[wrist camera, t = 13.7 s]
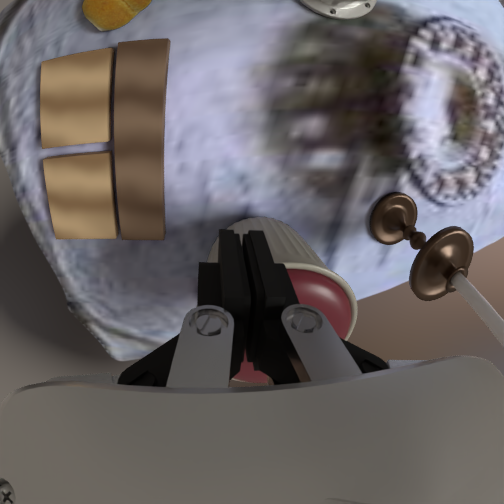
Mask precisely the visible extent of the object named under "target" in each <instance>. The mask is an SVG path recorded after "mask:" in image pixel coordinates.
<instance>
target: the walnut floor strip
mask: <svg viewBox="0 0 504 504" xmlns="http://www.w3.org/2000/svg"><path fill="white" fill-rule="evenodd" d="M169 50H170V40H169V39H168V38H167V39H149V40H137V41H128V42H119V43H118V48H117V59H116V73H115V93H114V152H115V173H116V188H117V200H118V210H119V220H120V228H121V236H122V240H164V238H165V234H166V230H165V203H164V129H165V104H166V86H167V72H168V60H169Z"/></svg>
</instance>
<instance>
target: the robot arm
mask: <svg viewBox="0 0 504 504" xmlns="http://www.w3.org/2000/svg"><path fill="white" fill-rule="evenodd" d="M299 1H300V2H301V3H303V4H304V5H305V6H306V7H308V8H309V9H311V10H313V11H314V12H316V13H318V14H320V15H323V16H326V17H329V18H333V19H339V20H349V19H354V18H358V17H361V16H363V15H365V14H367V13H368V12H369V11H371V10H372V9H373V7H374V5H375V4H376V1H377V0H299ZM499 2H500V3H501V4H502V6H503V7H504V0H499ZM330 11H331V12H332V14H331V13H330ZM245 350H246V357H247V362H253V368H254V371H261V372H263V373H264V374H266V375H267V382H268V385H269V386H253V387H232V388H230V387H229V382H230V380H231V379H232V378H233V377H234V376H235V375H236V374H238V373H239V372H240V369H241V363H243V361H244V354H245ZM0 504H504V376H503V375H502V374H501V372H500V371H499V370H498V369H497V368H496V366H495V365H494V364H492V363H491V362H490V361H488V360H485V359H483V358H479V357H472V356H450V357H443V358H438V359H433V360H424V361H423V360H421V361H420V360H416V361H415V360H414V361H413V360H388V361H387V363H385V362H384V361H383V360H382V359H380V358H379V357H377V356H375V355H373V354H371V353H369V352H367V351H365V350H363V349H361V348H359V347H357V346H355V345H353V344H351V343H350V342H348V341H346V340H344V339H342V338H340V337H339V336H338V335H337V333H336V332H335V330H334V328H333V327H332V325H331V324H330V322H329V321H328V319H327V318H326V316H325V315H324V314H323V313H322V312H321V311H320V310H318V309H317V308H315V307H313V306H310V305H306V304H300V303H299V300H298V298H297V295H296V292H295V290H294V287H293V285H292V282H291V279H290V277H289V274H288V272H287V269H286V266H285V265H284V264H283V263H274V260H273V257H272V254H271V251H270V248H269V245H268V242H267V240H266V237H265V234H264V231H263V230H249V231H248V234H243V238H242V245H241V240H240V235H239V233H234V230H227V229H219V245H218V263H216V262H199V274H198V305H197V307H196V308H194V309H191V310H190V311H189V312H188V313H187V314H186V316H185V318H184V321H183V324H182V328H181V332H180V334H178V335H177V336H175V337H174V338H172V339H171V340H169V341H168V342H166V343H165V344H163V345H162V346H160V347H159V348H157V349H156V350H154V351H153V352H151V353H150V354H148V355H147V356H145V357H144V358H142V359H141V360H139V361H138V362H136V363H134V364H133V365H131V366H130V367H128V368H127V369H126V370H125V371H124V372H122V373H121V375H116V376H113V375H112V373H101V374H90V375H77V376H61V377H54V378H51V379H49V380H48V381H46V382H42V383H36V384H31V385H27V386H24V387H21V388H19V389H16V390H14V391H13V392H11V393H10V394H9V395H8V396H7V397H6V398H5V399H4V400H3V402H2V403H1V404H0Z"/></svg>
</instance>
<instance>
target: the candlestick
mask: <svg viewBox="0 0 504 504" xmlns="http://www.w3.org/2000/svg"><path fill="white" fill-rule="evenodd" d="M416 220H417V207H416V204H415V202H414V200H413V199H412V198H411V197H409V196H408V195H406V194H404V193H401V192H394V193H391V194H388V195H386V196H385V197H383V198H382V199H381V200H380V201H379V202H378V203H377V204H376V206H375V207H374V209H373V211H372V214H371V217H370V230H371V233H372V235H373V236H374V237H375V238H376V239H377V241H379V242H380V243H382V244H385V245H393V244H396V243H398V242H400V241H402V240H403V239H405V240H410V245H411V247H412V248H413V249H415V250H418V249H420V251H419V252H418V254H417V256H416V257H415V260H414V262H413V264H412V267H411V270H410V276H409V284H410V287H411V289H412V291H413V292H414V294H415V295H416V296H417V297H418V298H419V299H421V300H424V301H431V300H435V299H438V298H440V297H442V296H444V295H446V294H447V293H448V292H454V291H456V290H457V291H458V292H459V293H460V294H461V295H462V297H463V298H464V299H465V300H466V301H467V302H468V303H469V305H470V306H471V307H472V308H473V309H474V311H475V312H476V313H477V314H478V315H479V317H480V318H481V319H482V320H483V321H484V323H485V324H486V325H487V326H488V328H489V329H490V330H491V332H492V333H493V334H494V335H495V337H496V338H497V339H498V341H499V342H500V343H501V345H502V346H503V347H504V320H503V319H502V318H501V317H500V315H499V314H498V313H497V312H496V311H495V310H494V308H493V307H492V306H491V305H490V304H489V303H488V302H487V300H486V299H485V298H484V297H483V296H482V295H481V294H480V293H479V292H478V290H477V289H476V288H475V287H474V286H473V285H472V284H471V283H470V282H469V281H468V280H467V279H466V277H467V275H468V268H469V266H470V263H471V260H472V256H473V250H474V246H473V240H472V237H471V236H470V235H469V233H467V232H466V231H465V230H463V229H462V228H461V227H457V226H450V227H447V228H444V229H442V230H440V231H438V232H437V233H436V234H434V235H433V236H432V237H431V238H430V239H429V240H428V241H427V242H426V235H425V234H424V233H423V232H416V228H415V227H414V226H415V223H416Z"/></svg>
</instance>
